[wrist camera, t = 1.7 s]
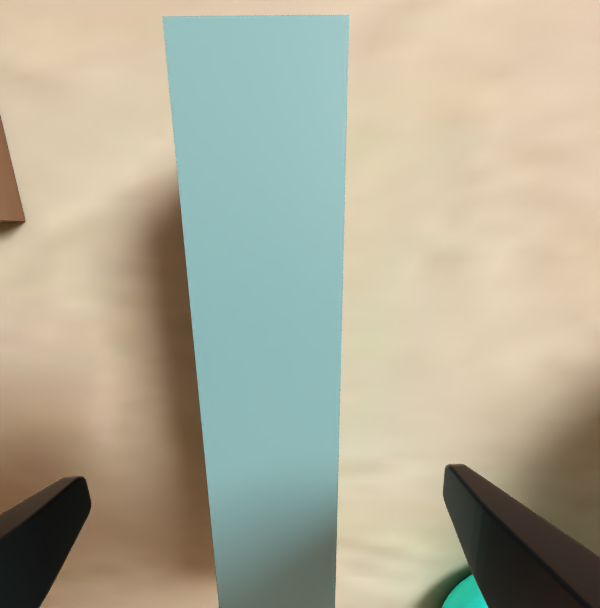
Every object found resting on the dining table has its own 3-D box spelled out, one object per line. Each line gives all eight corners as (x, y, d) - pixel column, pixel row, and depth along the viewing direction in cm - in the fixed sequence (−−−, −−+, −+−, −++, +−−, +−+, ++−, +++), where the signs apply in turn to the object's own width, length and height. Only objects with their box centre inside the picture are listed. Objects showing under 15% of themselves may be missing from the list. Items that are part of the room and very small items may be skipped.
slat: (257, 522, 17) (229, 717, 10) (238, 137, 12) (162, 16, 6) (319, 521, 17) (332, 716, 10) (321, 136, 12) (349, 14, 6)
